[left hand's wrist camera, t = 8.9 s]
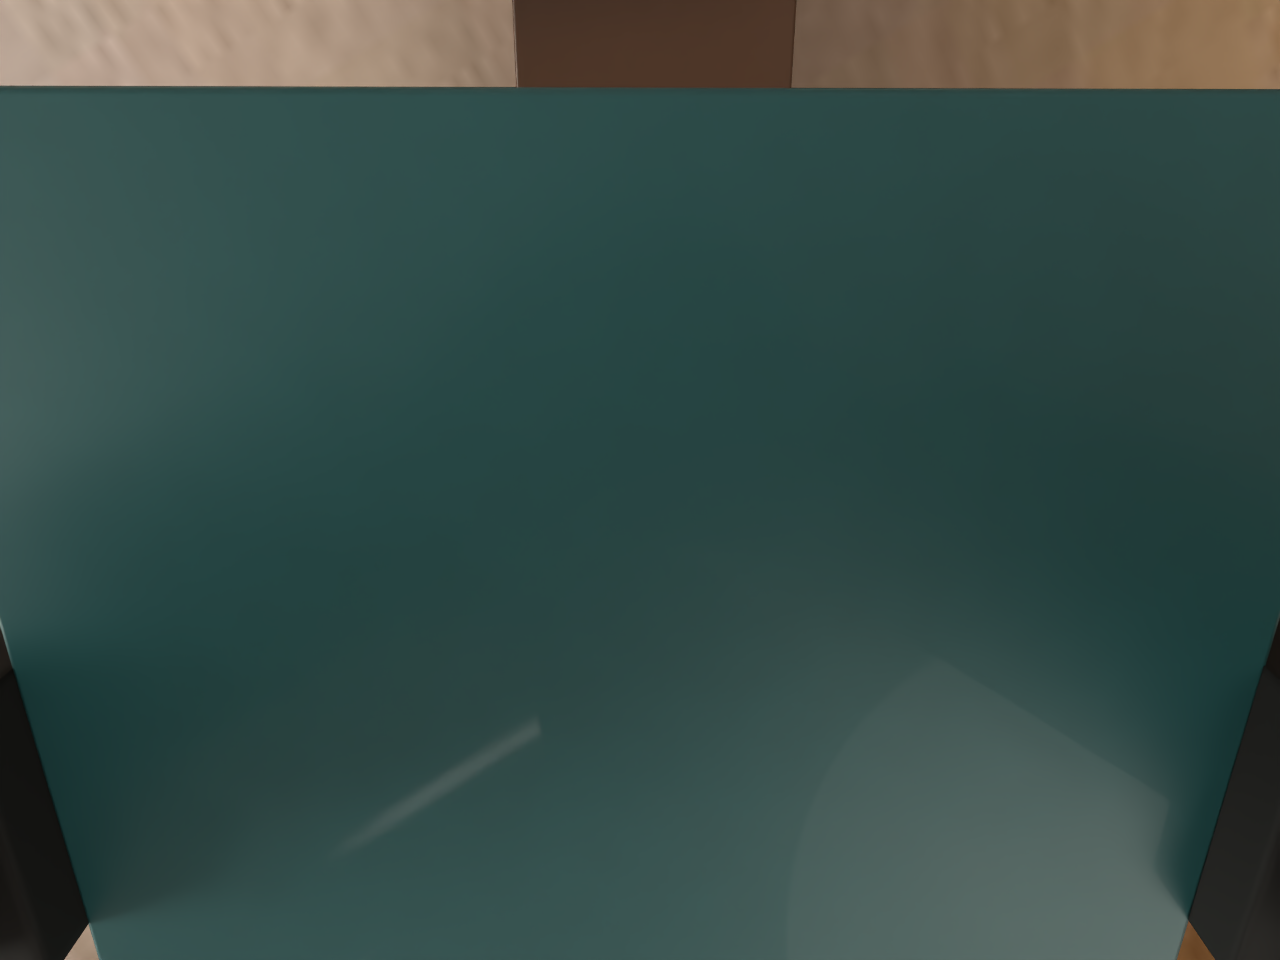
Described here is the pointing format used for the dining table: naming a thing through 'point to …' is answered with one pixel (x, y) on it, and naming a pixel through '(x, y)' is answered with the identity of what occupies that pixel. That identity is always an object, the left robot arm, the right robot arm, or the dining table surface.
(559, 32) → the walnut case
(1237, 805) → the left robot arm
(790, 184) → the teal flat block
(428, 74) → the dining table surface
